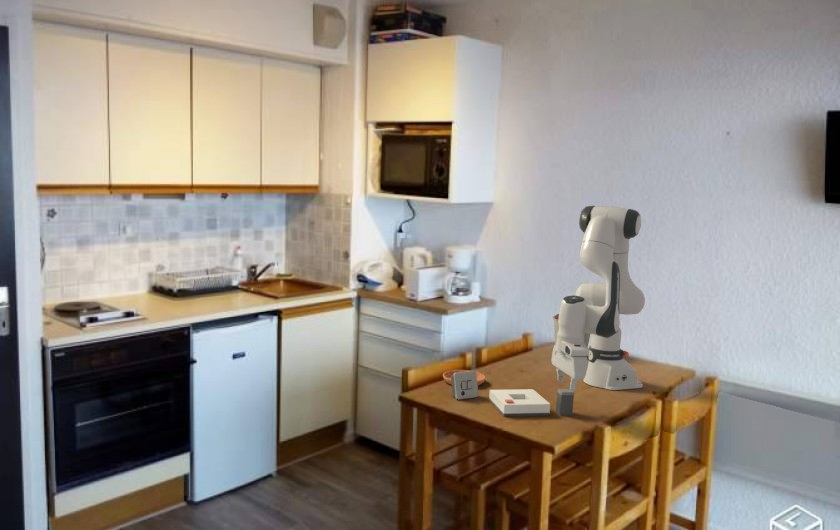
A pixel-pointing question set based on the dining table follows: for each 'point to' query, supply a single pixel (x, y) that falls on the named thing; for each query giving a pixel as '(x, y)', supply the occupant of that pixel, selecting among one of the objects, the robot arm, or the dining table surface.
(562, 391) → the grey upright block
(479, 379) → the saucer
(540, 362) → the dining table surface
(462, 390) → the electrical switch
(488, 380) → the dining table surface
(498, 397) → the socket
